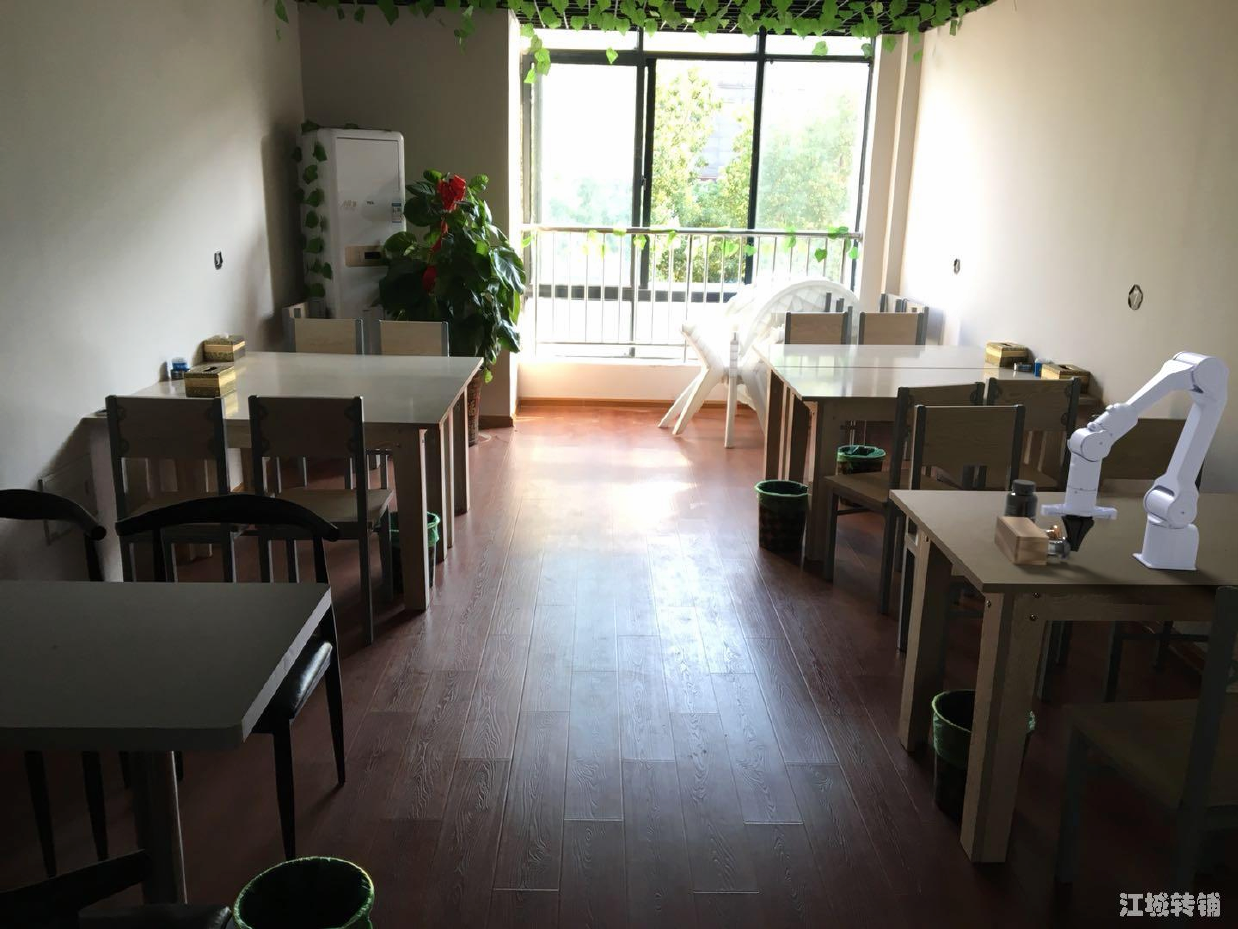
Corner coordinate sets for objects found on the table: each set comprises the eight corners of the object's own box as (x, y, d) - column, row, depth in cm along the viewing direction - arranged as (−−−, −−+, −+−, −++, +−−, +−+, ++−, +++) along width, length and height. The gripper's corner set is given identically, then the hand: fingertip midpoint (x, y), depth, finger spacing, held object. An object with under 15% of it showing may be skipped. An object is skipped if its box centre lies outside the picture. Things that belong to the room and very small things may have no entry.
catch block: (1024, 543, 217) (1027, 517, 216) (1045, 565, 204) (1049, 537, 202) (994, 542, 218) (997, 516, 216) (1013, 563, 204) (1017, 536, 203)
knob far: (1052, 542, 216) (1055, 522, 215) (1060, 549, 212) (1063, 529, 211) (1021, 541, 217) (1023, 521, 215) (1027, 548, 212) (1030, 527, 211)
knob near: (1060, 554, 208) (1063, 534, 207) (1068, 562, 204) (1071, 541, 203) (1027, 553, 209) (1030, 532, 208) (1035, 560, 204) (1037, 539, 203)
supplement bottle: (1036, 538, 221) (1043, 487, 218) (1004, 536, 222) (1011, 484, 219) (1030, 529, 228) (1037, 479, 225) (999, 526, 229) (1005, 477, 226)
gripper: (1052, 490, 199) (1043, 554, 202) (1126, 494, 198) (1116, 558, 201) (1041, 481, 206) (1032, 543, 209) (1112, 484, 205) (1103, 547, 208)
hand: (1072, 550), depth 206 cm, fingers closed
